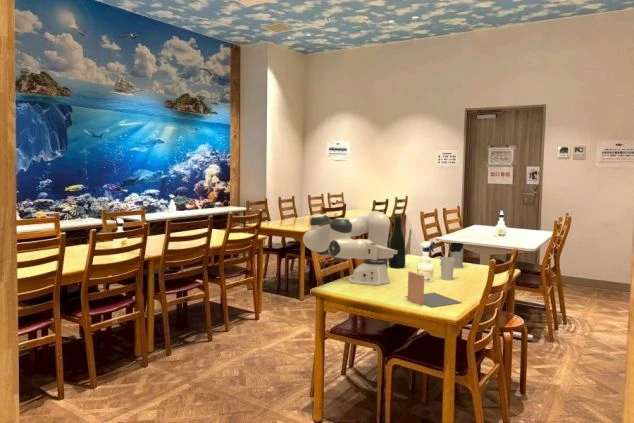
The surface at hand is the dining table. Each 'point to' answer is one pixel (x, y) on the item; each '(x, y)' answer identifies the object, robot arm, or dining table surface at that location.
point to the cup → (447, 268)
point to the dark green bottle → (397, 245)
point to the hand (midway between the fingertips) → (390, 250)
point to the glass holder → (456, 254)
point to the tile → (416, 288)
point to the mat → (437, 300)
